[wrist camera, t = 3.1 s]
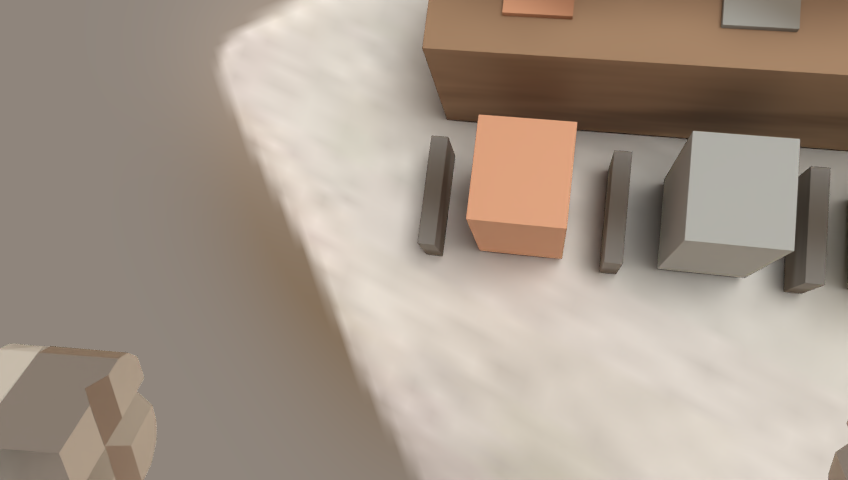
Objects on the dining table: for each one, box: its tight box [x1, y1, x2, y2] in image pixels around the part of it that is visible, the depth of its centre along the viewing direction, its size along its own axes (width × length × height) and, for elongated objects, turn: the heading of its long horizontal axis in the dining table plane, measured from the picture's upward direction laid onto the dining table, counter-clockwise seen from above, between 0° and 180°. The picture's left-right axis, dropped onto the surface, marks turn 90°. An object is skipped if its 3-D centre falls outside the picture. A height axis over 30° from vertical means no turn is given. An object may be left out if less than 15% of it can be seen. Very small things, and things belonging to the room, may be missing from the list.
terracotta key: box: [466, 115, 577, 259], centre depth 36 cm, size 4×4×8 cm
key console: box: [418, 0, 848, 293], centre depth 35 cm, size 13×26×9 cm, turn 83°
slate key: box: [657, 131, 800, 278], centre depth 35 cm, size 4×4×8 cm
